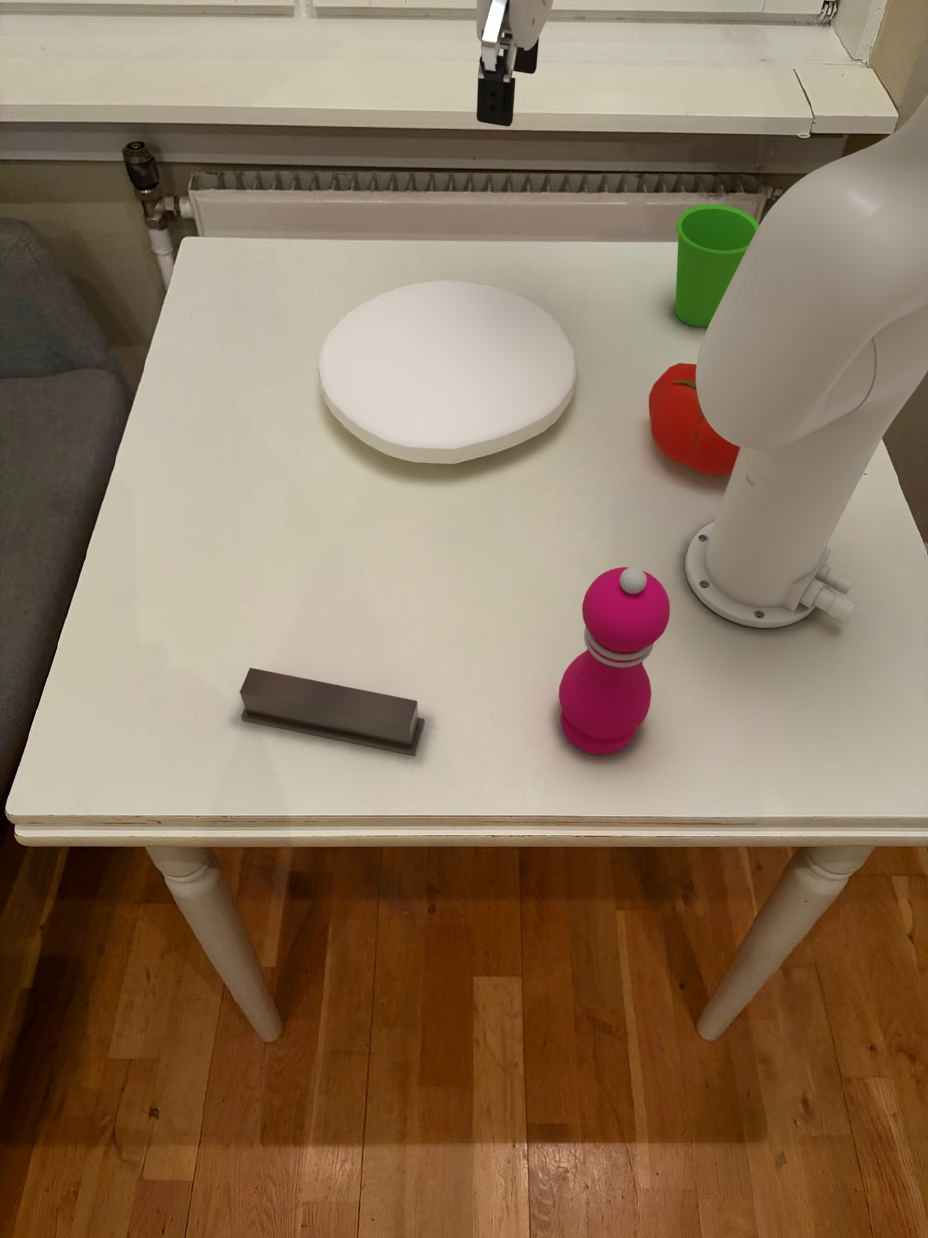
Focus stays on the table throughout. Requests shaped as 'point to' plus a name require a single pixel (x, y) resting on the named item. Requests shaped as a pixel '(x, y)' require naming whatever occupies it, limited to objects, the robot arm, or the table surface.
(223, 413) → the table surface
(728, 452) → the tomato
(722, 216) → the cup
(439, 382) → the plate
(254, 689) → the rail
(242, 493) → the table surface
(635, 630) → the pepper mill
